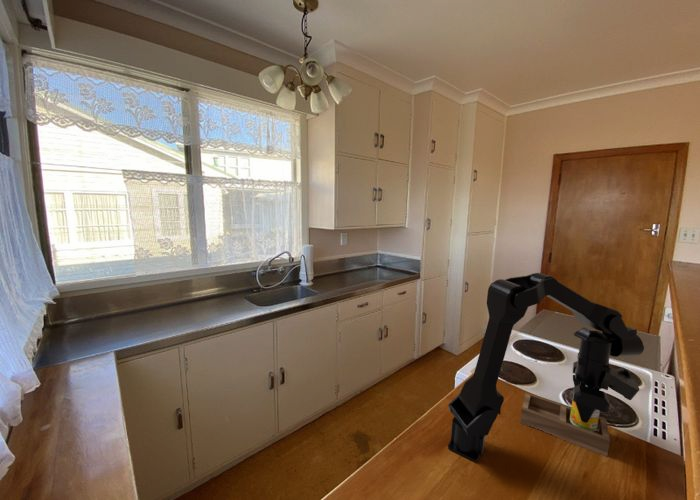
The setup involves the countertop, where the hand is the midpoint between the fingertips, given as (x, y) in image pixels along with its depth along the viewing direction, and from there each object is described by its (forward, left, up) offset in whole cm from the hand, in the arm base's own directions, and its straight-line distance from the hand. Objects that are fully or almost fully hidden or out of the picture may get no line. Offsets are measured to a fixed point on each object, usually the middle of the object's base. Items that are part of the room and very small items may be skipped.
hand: (583, 415), depth 75 cm
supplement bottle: (0, 0, -3) cm, 3 cm away
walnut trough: (-4, 0, -5) cm, 7 cm away
